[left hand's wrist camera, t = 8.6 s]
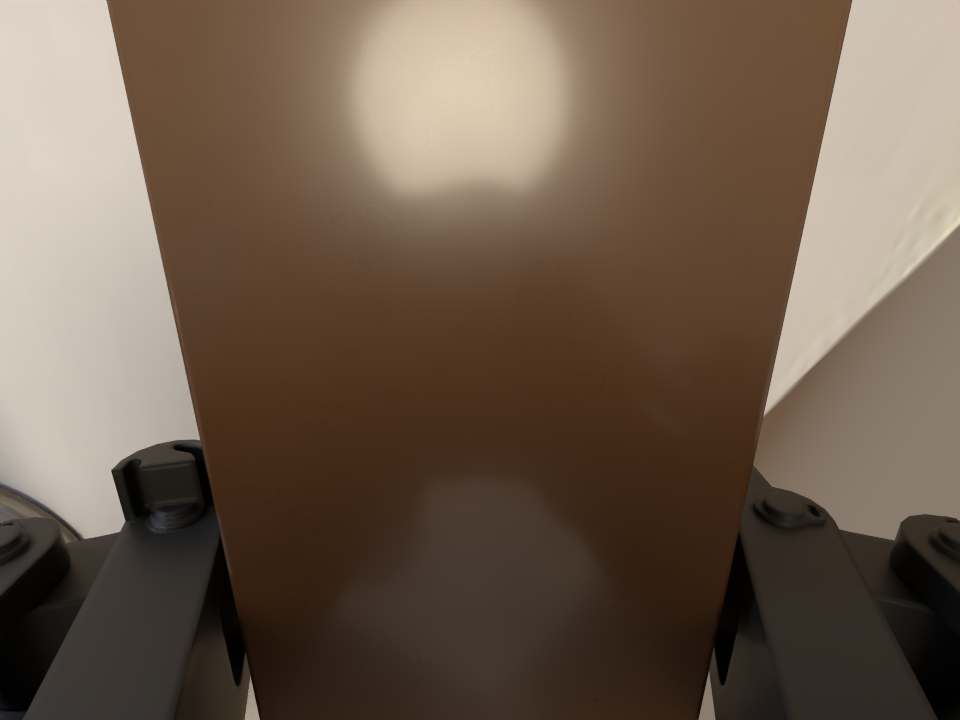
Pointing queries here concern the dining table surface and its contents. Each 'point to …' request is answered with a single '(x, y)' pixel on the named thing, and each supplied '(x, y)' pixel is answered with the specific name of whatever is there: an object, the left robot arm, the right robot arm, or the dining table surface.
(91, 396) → the dining table surface
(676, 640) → the bar
